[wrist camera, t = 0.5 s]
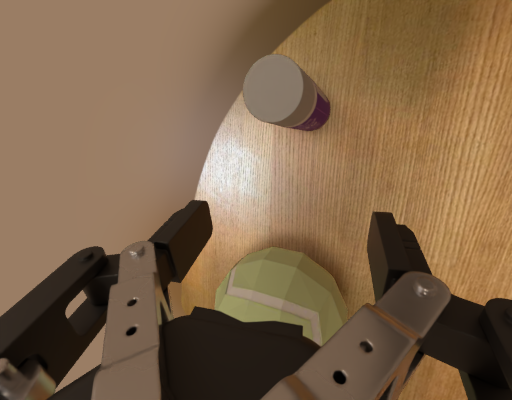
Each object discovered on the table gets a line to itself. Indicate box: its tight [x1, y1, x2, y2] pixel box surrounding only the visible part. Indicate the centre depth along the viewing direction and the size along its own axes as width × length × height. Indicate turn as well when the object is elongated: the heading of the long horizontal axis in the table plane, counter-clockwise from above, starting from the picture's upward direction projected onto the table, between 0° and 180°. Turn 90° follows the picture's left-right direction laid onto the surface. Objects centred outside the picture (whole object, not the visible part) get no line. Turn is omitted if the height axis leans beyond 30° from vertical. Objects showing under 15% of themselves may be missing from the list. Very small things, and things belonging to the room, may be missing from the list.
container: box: [243, 54, 330, 131], centre depth 25 cm, size 5×5×15 cm
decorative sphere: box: [215, 246, 348, 347], centre depth 30 cm, size 15×15×15 cm
